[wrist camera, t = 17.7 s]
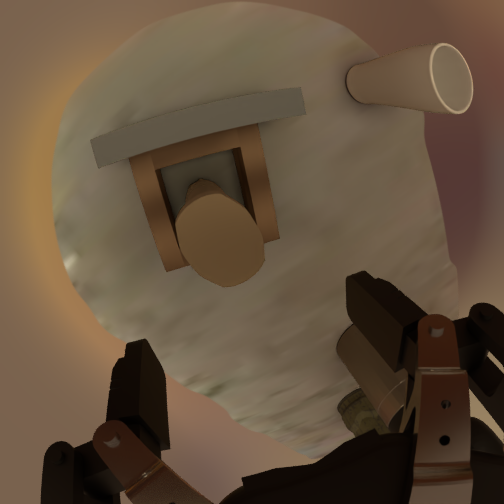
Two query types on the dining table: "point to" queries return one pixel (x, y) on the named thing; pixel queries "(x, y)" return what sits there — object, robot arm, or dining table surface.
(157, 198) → the walnut block
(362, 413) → the thermos
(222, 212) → the handle
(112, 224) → the dining table surface
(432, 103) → the drinking glass
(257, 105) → the slate wall
